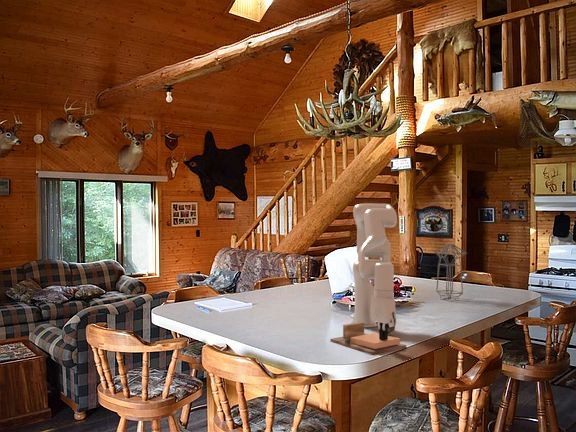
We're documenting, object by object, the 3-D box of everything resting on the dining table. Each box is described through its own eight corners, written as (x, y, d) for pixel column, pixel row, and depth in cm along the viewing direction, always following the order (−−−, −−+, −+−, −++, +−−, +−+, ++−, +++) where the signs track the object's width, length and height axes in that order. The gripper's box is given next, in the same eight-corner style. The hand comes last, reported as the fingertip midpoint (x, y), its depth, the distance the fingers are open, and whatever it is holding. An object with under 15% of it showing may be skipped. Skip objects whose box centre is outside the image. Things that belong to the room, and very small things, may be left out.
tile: (374, 343, 202) (374, 349, 202) (399, 338, 210) (399, 343, 210) (350, 337, 213) (350, 343, 213) (375, 332, 221) (375, 338, 221)
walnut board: (330, 341, 220) (330, 324, 220) (363, 335, 231) (363, 319, 231) (372, 354, 199) (372, 336, 199) (406, 347, 210) (406, 330, 210)
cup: (394, 333, 234) (394, 315, 234) (398, 337, 227) (398, 319, 227) (377, 333, 234) (377, 315, 234) (381, 337, 227) (381, 319, 226)
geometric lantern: (431, 298, 328) (432, 243, 328) (450, 297, 334) (451, 243, 335) (448, 302, 313) (449, 244, 314) (468, 301, 320) (469, 244, 320)
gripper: (363, 291, 211) (363, 337, 212) (391, 297, 199) (390, 344, 199) (377, 290, 216) (376, 334, 216) (404, 295, 203) (404, 342, 204)
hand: (383, 339), depth 208 cm, fingers closed
